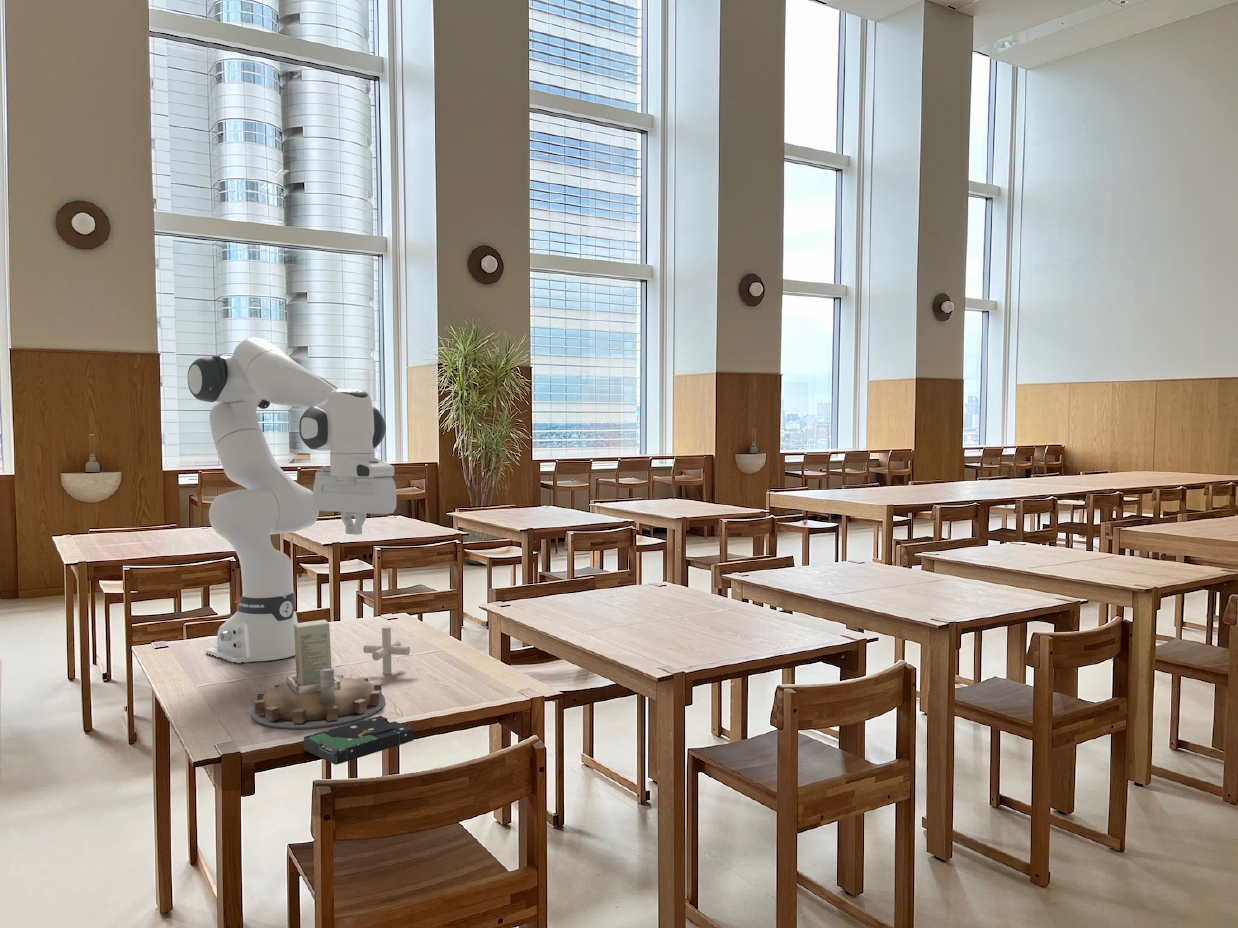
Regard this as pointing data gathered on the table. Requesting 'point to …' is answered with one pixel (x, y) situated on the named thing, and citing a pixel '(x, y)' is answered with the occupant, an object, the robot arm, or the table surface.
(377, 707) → the dial base
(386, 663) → the pipe connector
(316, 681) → the skincare box
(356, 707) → the dial
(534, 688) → the table surface
